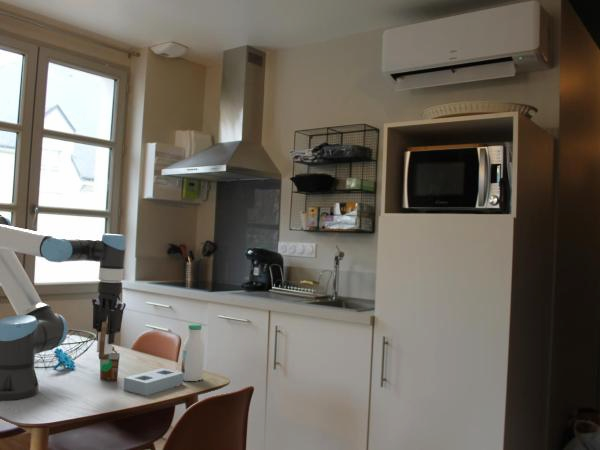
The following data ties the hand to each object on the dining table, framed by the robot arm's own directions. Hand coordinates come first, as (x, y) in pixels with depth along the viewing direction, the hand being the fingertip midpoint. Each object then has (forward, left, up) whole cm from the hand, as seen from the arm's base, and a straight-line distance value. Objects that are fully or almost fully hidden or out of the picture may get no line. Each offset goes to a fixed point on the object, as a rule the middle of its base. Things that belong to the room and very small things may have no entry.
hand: (104, 352), depth 181 cm
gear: (+10, +31, -13) cm, 35 cm away
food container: (+11, +10, -13) cm, 20 cm away
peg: (0, 0, -2) cm, 2 cm away
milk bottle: (+30, -13, -13) cm, 35 cm away
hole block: (+14, -10, -12) cm, 21 cm away
